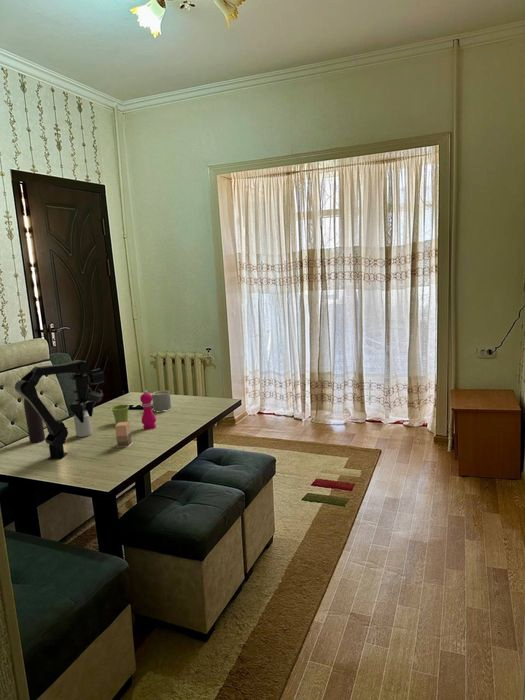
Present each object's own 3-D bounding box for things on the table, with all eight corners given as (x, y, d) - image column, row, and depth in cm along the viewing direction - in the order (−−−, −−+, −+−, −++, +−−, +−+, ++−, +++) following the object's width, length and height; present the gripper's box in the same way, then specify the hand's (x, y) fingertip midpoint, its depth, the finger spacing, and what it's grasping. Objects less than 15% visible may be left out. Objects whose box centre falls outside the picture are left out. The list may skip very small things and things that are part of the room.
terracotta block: (127, 435, 224) (125, 425, 223) (116, 436, 224) (114, 425, 223) (130, 432, 228) (129, 421, 228) (120, 432, 229) (118, 422, 228)
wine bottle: (48, 438, 248) (39, 380, 242) (38, 443, 241) (29, 383, 236) (36, 437, 250) (27, 380, 244) (26, 442, 243) (17, 384, 238)
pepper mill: (142, 431, 247) (138, 393, 244) (142, 427, 254) (137, 389, 251) (157, 429, 249) (153, 391, 245) (156, 425, 256) (152, 387, 252)
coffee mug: (174, 407, 287) (172, 390, 285) (166, 412, 277) (164, 395, 276) (154, 406, 291) (152, 390, 289) (145, 411, 282) (143, 395, 280)
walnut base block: (128, 446, 224) (127, 435, 224) (117, 446, 225) (116, 436, 224) (132, 442, 229) (130, 432, 228) (121, 442, 230) (120, 432, 229)
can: (87, 437, 244) (83, 414, 242) (73, 437, 245) (70, 414, 243) (95, 432, 251) (92, 410, 249) (81, 432, 253) (78, 410, 251)
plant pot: (132, 423, 262) (130, 407, 261) (113, 426, 259) (111, 410, 257) (129, 418, 271) (128, 403, 269) (112, 421, 267) (110, 406, 266)
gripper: (90, 391, 217) (95, 425, 220) (106, 381, 235) (110, 412, 238) (66, 392, 218) (71, 426, 221) (84, 382, 236) (88, 413, 239)
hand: (86, 419), depth 229 cm, fingers open, 9 cm apart
